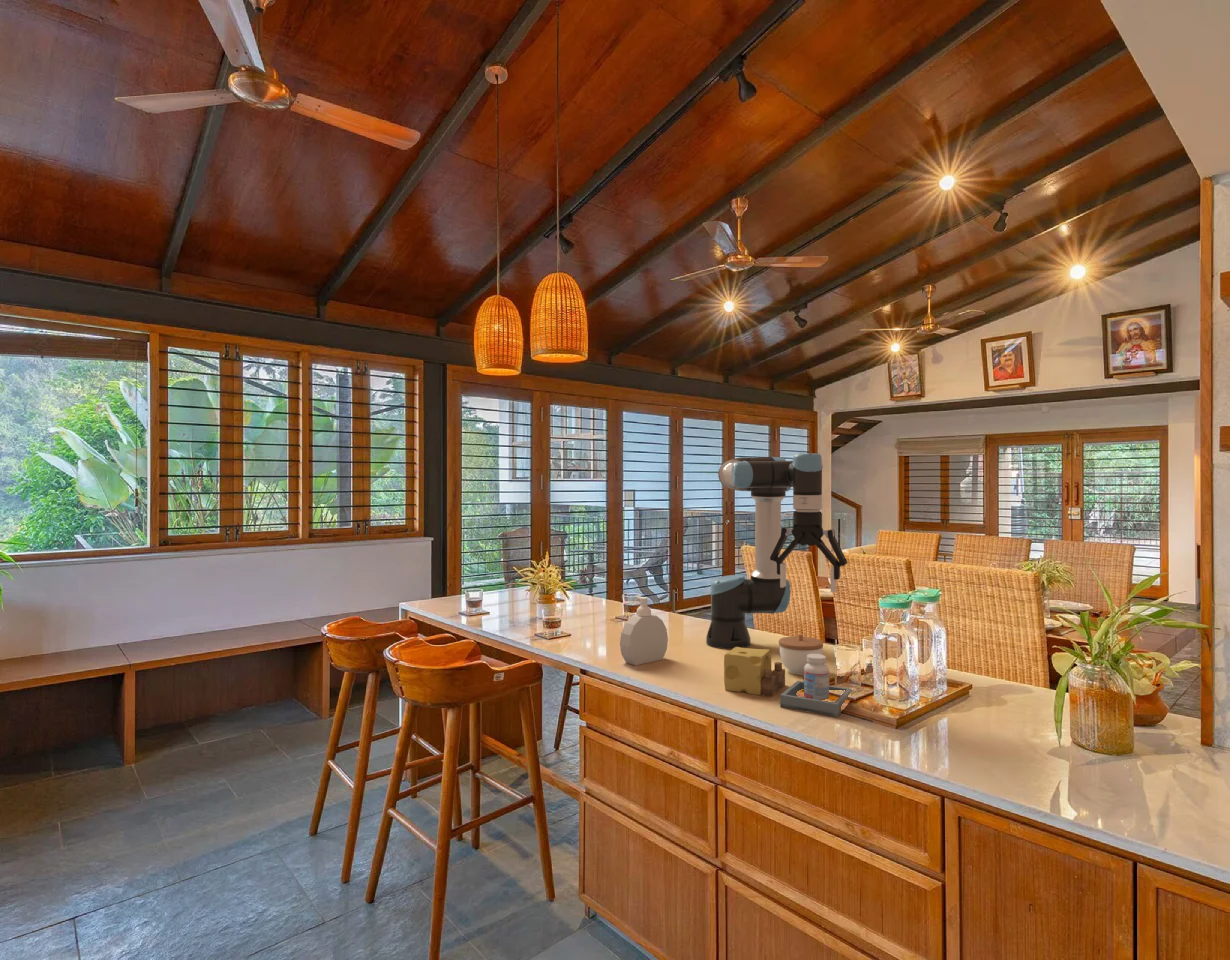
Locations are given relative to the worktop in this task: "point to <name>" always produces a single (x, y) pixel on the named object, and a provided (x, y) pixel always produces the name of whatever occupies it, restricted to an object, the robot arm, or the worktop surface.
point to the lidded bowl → (798, 652)
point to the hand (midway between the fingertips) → (807, 589)
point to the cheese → (745, 669)
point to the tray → (812, 701)
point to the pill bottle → (816, 677)
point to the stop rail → (772, 680)
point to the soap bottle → (643, 637)
